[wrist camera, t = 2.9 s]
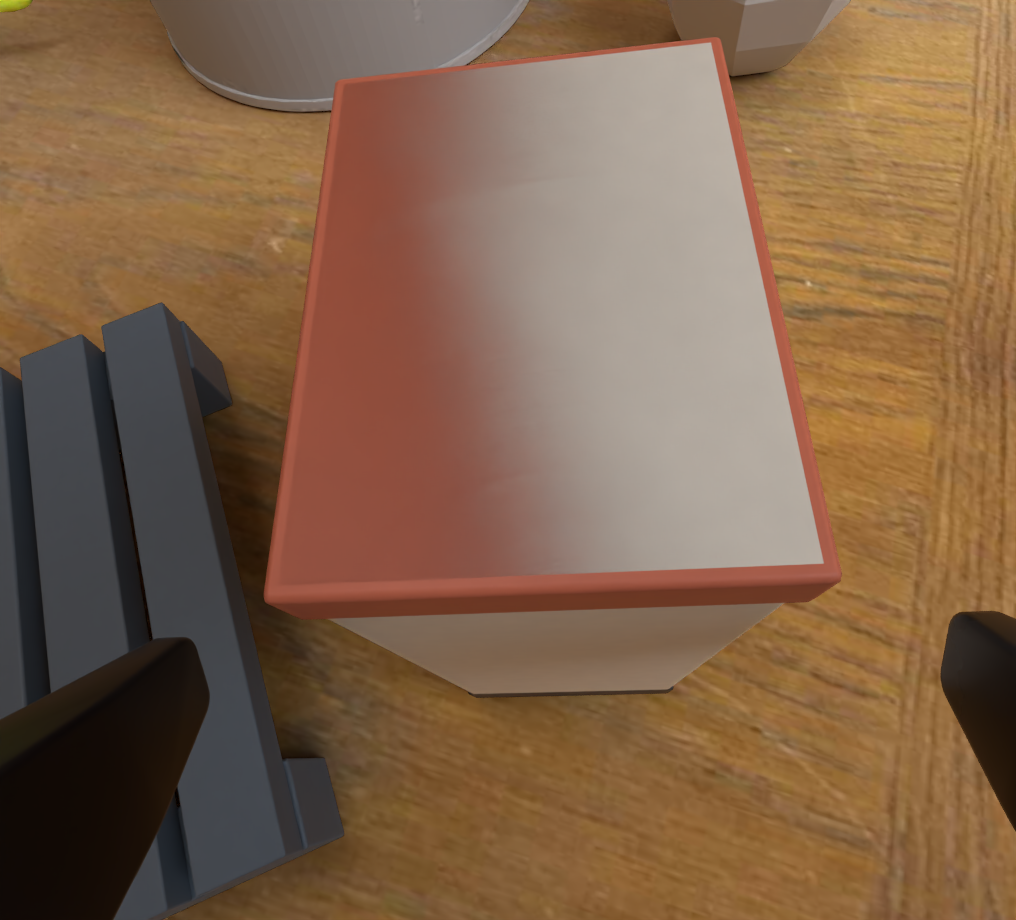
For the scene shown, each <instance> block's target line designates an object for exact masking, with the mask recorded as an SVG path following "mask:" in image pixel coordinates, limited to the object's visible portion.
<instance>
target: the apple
mask: <svg viewBox="0 0 1016 920" xmlns="http://www.w3.org/2000/svg"><path fill="white" fill-rule="evenodd" d="M667 2H668V5H669V9H670V12H671V15H672V19H673V22H674V25H675V28H676V30H677V32H678V34H679V36H680V38H681V41H684V40H693V39H702V38H710V37H717V38H719V39H721V43H722V47H723V52H724V56H725V61H726V65H727V69H728V74H729V75H730V76H739V75H746V74H754V73H762V72H770V71H773V70H776V69H778V68H781V67H783V66H785V65H787V64H788V63H789V62H790V61H791V60H792V59H793V58H794V57H795V56H796V55H797V54H798V53H799V52H800V51H801V50H802V49H803V48H804V47H805V46H806V45H807V44H808V43H809V42H810V41H811V40H813V39H814V38H815V37H816V36H817V35H818V34H819V33H820V32H821V31H822V30H823V29H824V28H825V27H826V26H827V25H828V24H829V23H830V22H831V21H832V20H833V19H834V18H835V17H836V16H837V15H838V14H839V13H840V12H841V11H842V10H843V9H844V8H845V7H846V6H847V5H848V4H849V2H850V0H667Z"/></svg>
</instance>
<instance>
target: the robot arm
mask: <svg viewBox="0 0 1016 920" xmlns="http://www.w3.org/2000/svg"><path fill="white" fill-rule="evenodd" d="M941 683H942V688H943V691H944V693H945V696H946V698H947V700H948V702H949V704H950V706H951V708H952V710H953V712H954V714H955V716H956V718H957V720H958V722H959V723H960V725H961V727H962V729H963V731H964V733H965V735H966V737H967V739H968V741H969V743H970V745H971V747H972V749H973V751H974V753H975V755H976V757H977V759H978V761H979V763H980V765H981V767H982V769H983V771H984V773H985V775H986V777H987V779H988V781H989V783H990V785H991V787H992V789H993V790H994V792H995V794H996V796H997V798H998V800H999V802H1000V804H1001V806H1002V808H1003V810H1004V812H1005V813H1006V815H1007V817H1008V819H1009V821H1010V823H1011V824H1012V826H1013V828H1014V829H1015V831H1016V619H1015V618H1012V617H1010V616H1008V615H1005V614H1003V613H1000V612H996V611H976V612H959V613H958V614H956V615H954V616H953V618H952V619H951V621H950V624H949V628H948V634H947V639H946V645H945V650H944V655H943V661H942V666H941ZM209 702H210V691H209V686H208V683H207V680H206V677H205V673H204V670H203V667H202V664H201V660H200V657H199V654H198V651H197V648H196V645H195V643H194V642H193V641H192V640H191V639H189V638H187V637H168V638H157V639H154V640H151V641H149V642H148V643H146V644H144V645H142V646H140V647H138V648H136V649H134V650H132V651H130V652H128V653H127V654H125V655H123V656H121V657H119V658H117V659H115V660H113V661H111V662H109V663H107V664H105V665H104V666H102V667H100V668H98V669H96V670H94V671H92V672H90V673H88V674H86V675H84V676H83V677H81V678H79V679H77V680H75V681H73V682H71V683H69V684H67V685H65V686H63V687H62V688H60V689H58V690H56V691H54V692H52V693H50V694H48V695H46V696H44V697H42V698H40V699H39V700H37V701H35V702H33V703H31V704H29V705H27V706H25V707H23V708H21V709H19V710H18V711H16V712H14V713H12V714H10V715H8V716H6V717H4V718H2V719H0V920H114V918H115V916H116V914H117V912H118V910H119V908H120V906H121V904H122V902H123V900H124V898H125V896H126V894H127V892H128V890H129V888H130V886H131V884H132V883H133V881H134V879H135V877H136V875H137V873H138V871H139V869H140V867H141V865H142V863H143V861H144V859H145V857H146V855H147V853H148V851H149V849H150V847H151V845H152V843H153V841H154V839H155V837H156V835H157V833H158V831H159V829H160V826H161V824H162V822H163V819H164V817H165V815H166V813H167V810H168V808H169V805H170V803H171V801H172V798H173V796H174V793H175V791H176V788H177V786H178V783H179V781H180V778H181V776H182V773H183V771H184V768H185V766H186V763H187V761H188V758H189V756H190V753H191V751H192V748H193V746H194V743H195V741H196V738H197V736H198V733H199V731H200V728H201V726H202V723H203V721H204V718H205V716H206V713H207V710H208V707H209Z"/></svg>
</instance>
